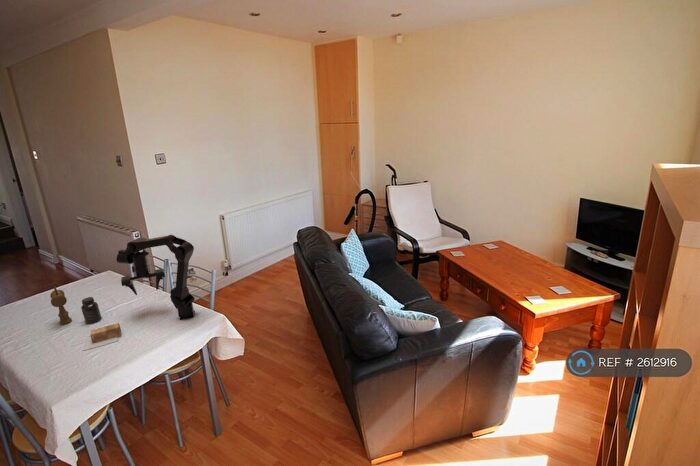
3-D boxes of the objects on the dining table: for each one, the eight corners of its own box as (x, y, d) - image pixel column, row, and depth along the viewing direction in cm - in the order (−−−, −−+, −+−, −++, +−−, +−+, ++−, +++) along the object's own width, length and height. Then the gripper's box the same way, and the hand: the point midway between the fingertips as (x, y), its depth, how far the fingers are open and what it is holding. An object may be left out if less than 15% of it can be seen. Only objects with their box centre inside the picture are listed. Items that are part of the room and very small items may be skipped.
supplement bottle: (105, 316, 186) (99, 295, 182) (94, 324, 179) (88, 302, 176) (92, 316, 187) (86, 295, 183) (82, 324, 180) (75, 302, 176)
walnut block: (119, 322, 171) (90, 330, 166) (118, 327, 167) (89, 335, 162) (121, 331, 172) (93, 338, 167) (121, 335, 169) (92, 343, 164)
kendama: (59, 328, 177) (47, 291, 170) (57, 320, 184) (45, 284, 177) (74, 323, 181) (62, 287, 174) (72, 316, 187) (61, 281, 181)
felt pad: (118, 328, 175) (118, 328, 175) (118, 341, 165) (117, 340, 165) (85, 337, 169) (85, 336, 169) (83, 351, 159) (83, 350, 159)
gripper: (160, 254, 190) (165, 281, 195) (118, 262, 181) (125, 290, 186) (161, 261, 181) (167, 290, 186) (118, 270, 172) (125, 299, 177)
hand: (146, 292), depth 184 cm, fingers open, 9 cm apart
